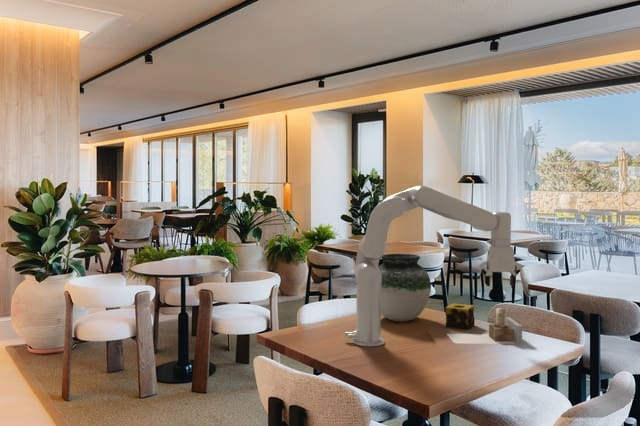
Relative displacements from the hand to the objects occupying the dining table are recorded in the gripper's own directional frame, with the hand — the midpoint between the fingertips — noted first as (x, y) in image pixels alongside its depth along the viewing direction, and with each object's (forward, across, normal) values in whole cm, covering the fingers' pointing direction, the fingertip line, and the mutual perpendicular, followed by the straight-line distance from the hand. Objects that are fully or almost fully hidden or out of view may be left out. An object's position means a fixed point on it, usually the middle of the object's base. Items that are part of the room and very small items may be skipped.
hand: (499, 285), depth 206 cm
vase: (+23, -35, +37) cm, 55 cm away
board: (+22, -6, 0) cm, 23 cm away
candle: (+23, -11, +20) cm, 32 cm away
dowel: (+21, 0, 0) cm, 21 cm away
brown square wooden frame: (+21, +1, 0) cm, 21 cm away
